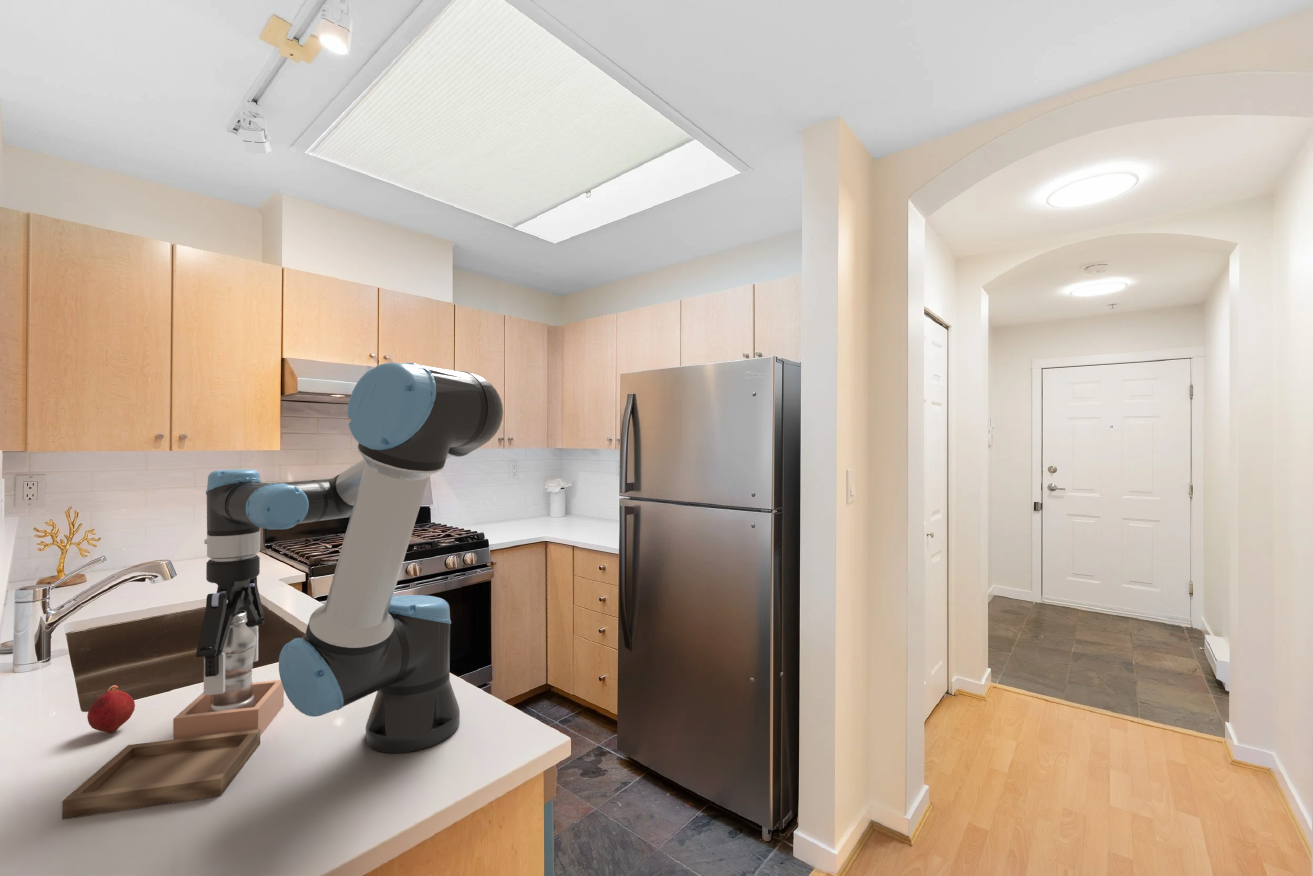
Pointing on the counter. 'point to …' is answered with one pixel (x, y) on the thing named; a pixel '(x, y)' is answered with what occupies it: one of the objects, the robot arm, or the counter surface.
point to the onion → (111, 710)
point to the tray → (163, 773)
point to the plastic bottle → (237, 667)
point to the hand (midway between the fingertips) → (232, 676)
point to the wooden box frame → (230, 713)
